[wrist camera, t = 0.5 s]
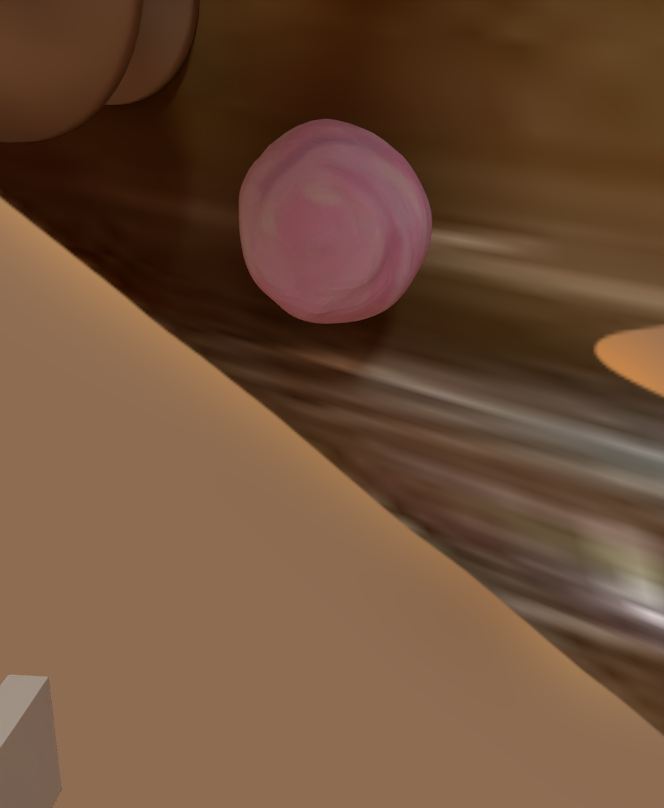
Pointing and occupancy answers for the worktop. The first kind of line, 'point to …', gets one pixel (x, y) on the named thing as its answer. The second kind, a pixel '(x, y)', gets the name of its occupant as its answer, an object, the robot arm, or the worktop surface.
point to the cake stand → (85, 59)
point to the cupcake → (333, 222)
